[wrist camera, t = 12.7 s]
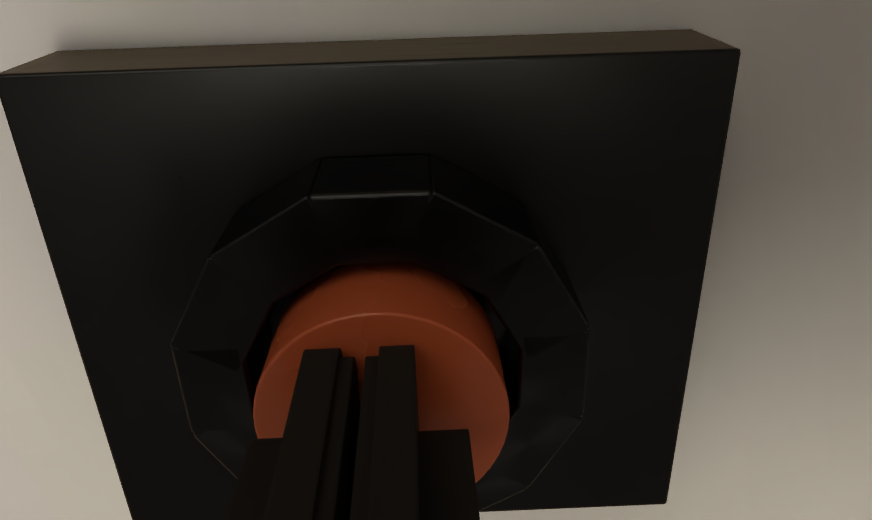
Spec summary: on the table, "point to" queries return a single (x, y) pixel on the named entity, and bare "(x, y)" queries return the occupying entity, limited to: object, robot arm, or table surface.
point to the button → (389, 326)
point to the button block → (383, 233)
